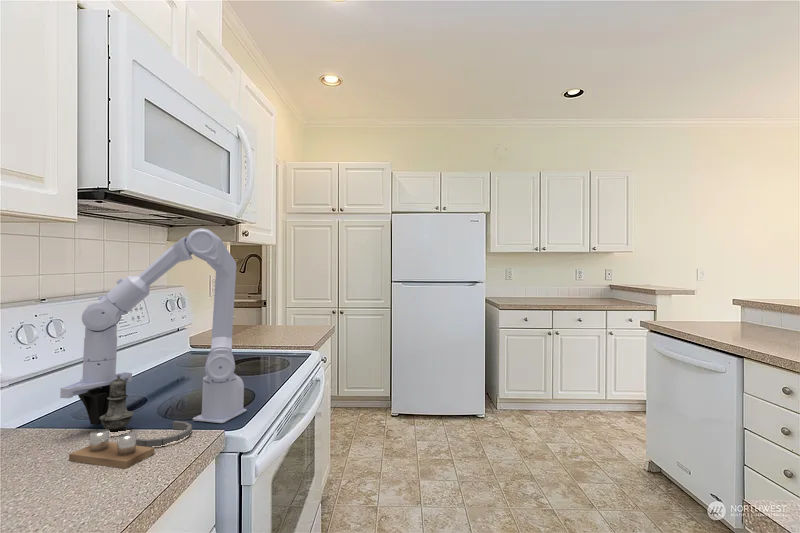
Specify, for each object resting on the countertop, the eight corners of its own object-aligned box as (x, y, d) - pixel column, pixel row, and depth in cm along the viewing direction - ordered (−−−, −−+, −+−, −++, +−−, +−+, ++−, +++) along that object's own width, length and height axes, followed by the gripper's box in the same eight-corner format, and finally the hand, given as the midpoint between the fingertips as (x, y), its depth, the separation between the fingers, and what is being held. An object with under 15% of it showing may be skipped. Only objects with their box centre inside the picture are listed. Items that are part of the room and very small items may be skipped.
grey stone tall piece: (115, 439, 82) (118, 378, 82) (91, 436, 83) (93, 377, 83) (139, 428, 88) (142, 372, 88) (116, 426, 89) (119, 370, 89)
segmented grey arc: (175, 427, 89) (175, 420, 89) (202, 430, 87) (202, 423, 87) (132, 447, 78) (132, 439, 78) (162, 451, 76) (163, 443, 76)
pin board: (100, 447, 78) (101, 425, 78) (154, 454, 75) (155, 431, 75) (68, 460, 72) (70, 436, 72) (125, 468, 69) (126, 443, 69)
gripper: (115, 352, 95) (112, 411, 94) (49, 364, 81) (45, 434, 80) (140, 354, 93) (138, 414, 93) (78, 366, 79) (74, 437, 79)
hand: (97, 423), depth 86 cm, fingers closed
